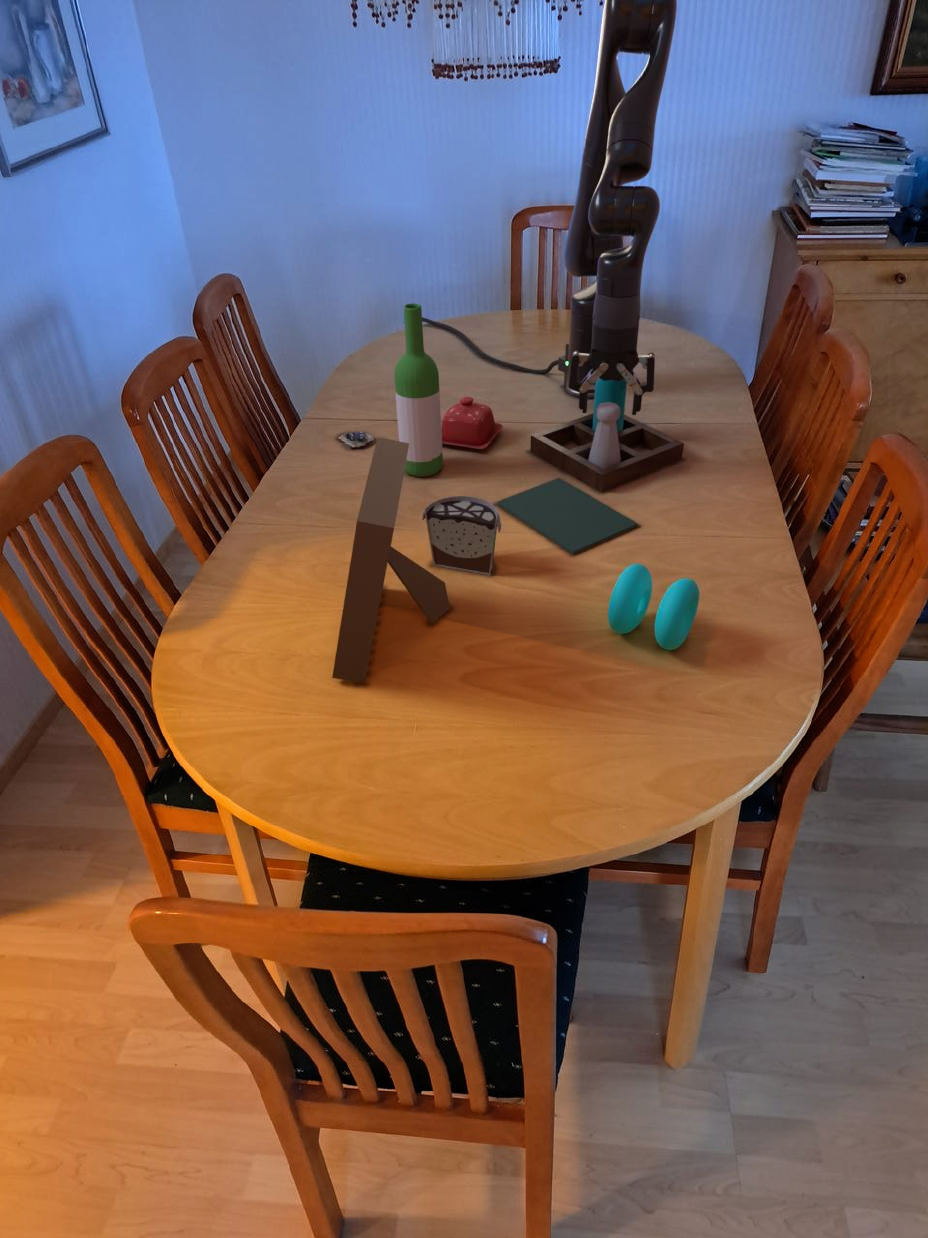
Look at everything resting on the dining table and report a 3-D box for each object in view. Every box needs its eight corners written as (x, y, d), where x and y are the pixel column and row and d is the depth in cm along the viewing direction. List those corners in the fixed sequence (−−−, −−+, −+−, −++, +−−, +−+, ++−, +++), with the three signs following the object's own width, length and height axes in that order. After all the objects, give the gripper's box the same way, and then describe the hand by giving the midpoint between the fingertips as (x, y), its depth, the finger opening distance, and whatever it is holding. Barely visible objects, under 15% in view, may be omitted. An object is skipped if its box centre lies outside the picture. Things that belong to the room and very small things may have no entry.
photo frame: (332, 683, 119) (308, 520, 104) (354, 588, 136) (336, 437, 121) (444, 683, 118) (436, 520, 103) (451, 588, 136) (445, 436, 121)
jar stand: (530, 451, 171) (530, 434, 169) (608, 423, 180) (609, 407, 178) (601, 492, 158) (603, 474, 156) (682, 459, 167) (684, 442, 165)
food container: (511, 555, 142) (511, 500, 136) (499, 576, 138) (499, 520, 132) (438, 543, 146) (435, 489, 140) (424, 563, 141) (421, 508, 135)
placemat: (496, 504, 155) (496, 501, 155) (559, 480, 162) (559, 477, 161) (573, 554, 142) (573, 551, 142) (637, 526, 148) (637, 523, 148)
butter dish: (429, 446, 174) (427, 405, 168) (452, 422, 182) (450, 382, 177) (484, 455, 170) (484, 413, 165) (505, 430, 178) (505, 389, 173)
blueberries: (358, 452, 172) (357, 443, 171) (328, 442, 176) (327, 433, 175) (381, 439, 177) (380, 430, 176) (351, 429, 181) (350, 420, 179)
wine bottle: (451, 467, 167) (445, 304, 148) (422, 483, 162) (411, 316, 144) (422, 455, 171) (412, 295, 153) (392, 470, 166) (379, 306, 148)
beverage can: (625, 436, 175) (632, 362, 166) (616, 449, 171) (622, 373, 162) (597, 431, 177) (602, 357, 168) (587, 444, 173) (592, 368, 164)
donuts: (670, 666, 120) (679, 606, 114) (601, 643, 124) (606, 584, 118) (696, 627, 127) (706, 568, 121) (631, 606, 131) (637, 548, 125)
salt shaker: (619, 465, 166) (625, 398, 158) (620, 480, 161) (626, 412, 153) (587, 464, 166) (591, 398, 158) (587, 479, 162) (592, 411, 154)
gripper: (660, 312, 149) (650, 405, 158) (573, 310, 151) (569, 402, 160) (660, 328, 143) (650, 423, 152) (570, 325, 145) (566, 419, 155)
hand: (609, 412), depth 156 cm, fingers open, 8 cm apart
